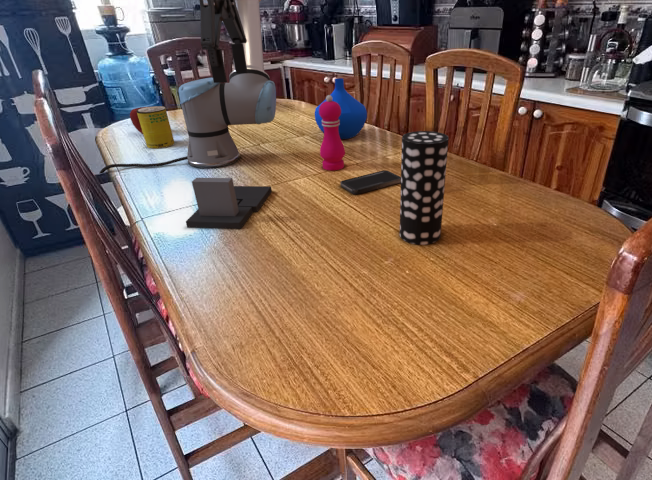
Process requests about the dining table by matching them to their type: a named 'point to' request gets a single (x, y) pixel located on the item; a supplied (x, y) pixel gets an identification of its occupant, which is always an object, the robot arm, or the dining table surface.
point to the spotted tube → (422, 186)
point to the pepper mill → (331, 136)
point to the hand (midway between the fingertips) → (231, 77)
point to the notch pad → (252, 196)
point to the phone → (370, 182)
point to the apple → (136, 119)
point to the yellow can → (155, 127)
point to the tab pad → (220, 220)
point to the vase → (345, 112)
